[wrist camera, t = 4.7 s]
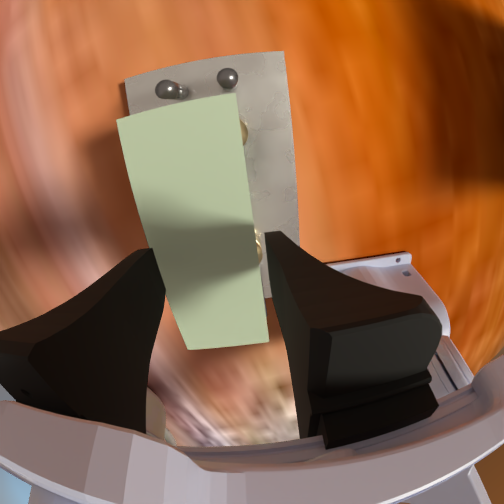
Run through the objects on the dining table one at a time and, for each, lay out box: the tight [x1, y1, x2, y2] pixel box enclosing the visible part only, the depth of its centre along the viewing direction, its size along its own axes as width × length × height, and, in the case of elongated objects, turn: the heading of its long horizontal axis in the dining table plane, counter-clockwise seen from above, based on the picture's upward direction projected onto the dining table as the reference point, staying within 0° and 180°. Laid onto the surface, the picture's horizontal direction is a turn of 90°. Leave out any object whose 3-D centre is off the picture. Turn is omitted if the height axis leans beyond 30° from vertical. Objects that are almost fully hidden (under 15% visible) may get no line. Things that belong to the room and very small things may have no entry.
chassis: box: [124, 51, 300, 317], centre depth 17 cm, size 10×18×5 cm, turn 7°
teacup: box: [146, 387, 177, 446], centre depth 28 cm, size 14×11×8 cm
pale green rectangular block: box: [116, 93, 269, 350], centre depth 14 cm, size 4×12×6 cm, turn 7°
